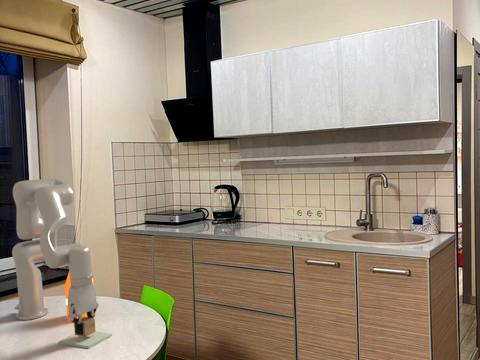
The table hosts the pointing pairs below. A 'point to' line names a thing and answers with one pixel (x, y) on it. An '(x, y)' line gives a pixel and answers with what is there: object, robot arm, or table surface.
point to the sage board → (85, 339)
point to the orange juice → (67, 294)
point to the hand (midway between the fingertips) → (85, 330)
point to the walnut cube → (87, 326)
